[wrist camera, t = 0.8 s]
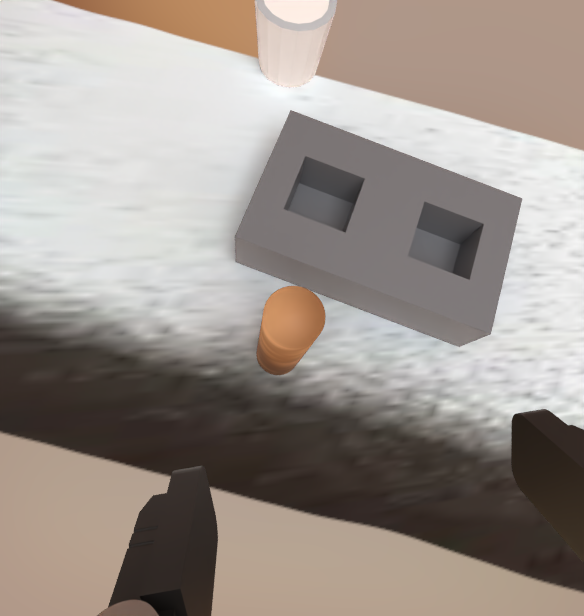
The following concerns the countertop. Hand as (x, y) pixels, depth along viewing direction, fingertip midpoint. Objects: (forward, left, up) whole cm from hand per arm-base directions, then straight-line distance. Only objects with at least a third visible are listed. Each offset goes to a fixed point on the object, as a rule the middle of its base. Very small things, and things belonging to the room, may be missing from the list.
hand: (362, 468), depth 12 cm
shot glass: (-12, +33, -24) cm, 43 cm away
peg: (-3, +6, -24) cm, 25 cm away
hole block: (+1, +18, -24) cm, 30 cm away
